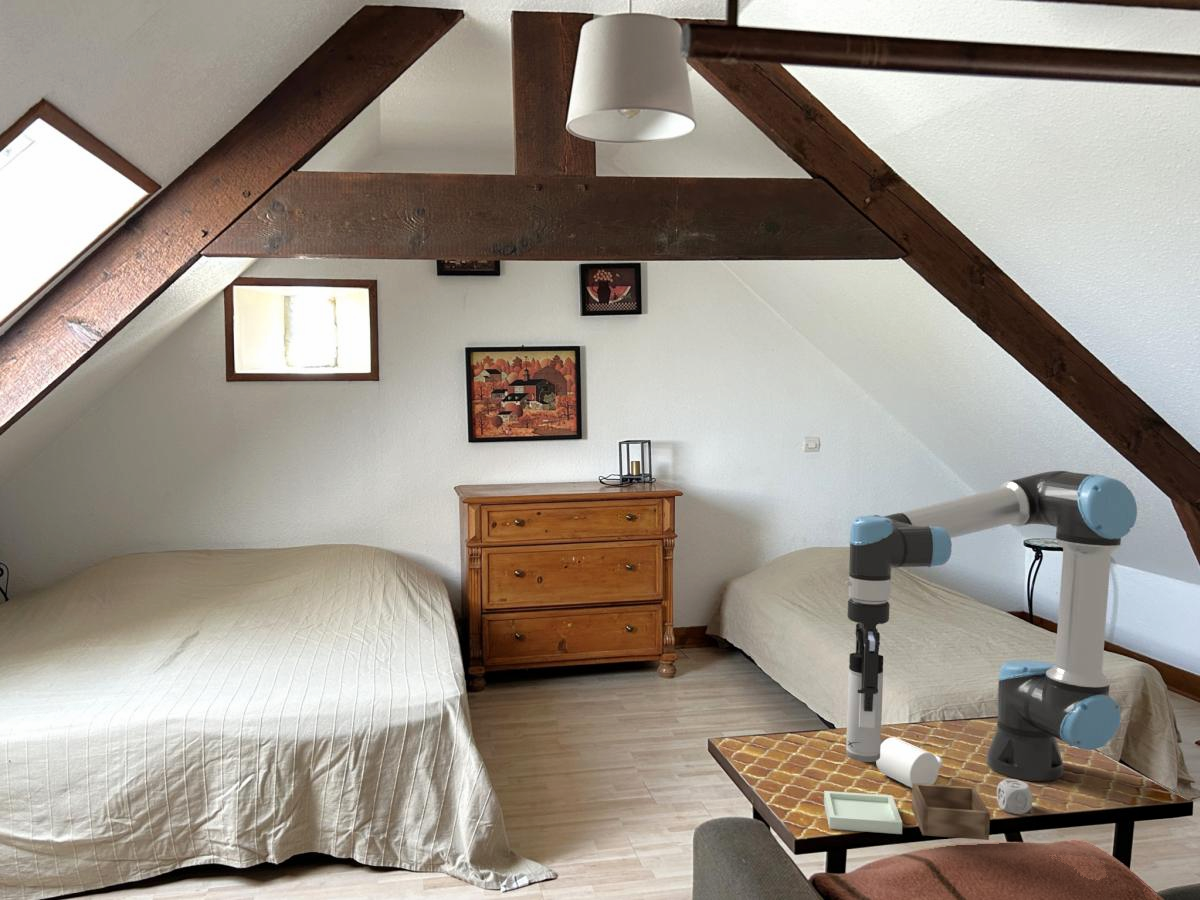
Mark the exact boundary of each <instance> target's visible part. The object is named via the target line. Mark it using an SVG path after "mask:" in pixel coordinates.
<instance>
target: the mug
mask: <svg viewBox="0 0 1200 900" xmlns="http://www.w3.org/2000/svg"><path fill="white" fill-rule="evenodd" d="M875 762H876V763H875V764H876V768H877V770H878V771H879V773H882V774H883V775H885V776H887V777H889V778H891V779H893V780H895V781H897V782H899V783H900V784H903V785H905V786H907V787H909V788H911V789H912V784H913V783H917V784H932V785H935V783H936V781H937V779H938V777H939V773H940V772H939V771H940V768H942V767H943V766H944V761H943V759H942V758H941V757H939V755H937V754H934V753H931V752H929V751H927V750H925V749H923V748H922V747H918V746H916V745H914V744H913V743H912V744H911V743H909V742H907V741H905V740H903V739H900V738H898V737H894V736H893V737H891V736H890V737H888V738H886V739H885V740H884V741H883V743H882V744H881V748H880V758H879V759H878V760H877V761H875Z"/></svg>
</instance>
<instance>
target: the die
mask: <svg viewBox="0 0 1200 900" xmlns="http://www.w3.org/2000/svg"><path fill="white" fill-rule="evenodd" d="M996 799H997V803H998V806H999V808H1000V809H1001V810H1002V811H1004V812H1006V813H1009V814H1013V815H1024V814H1027V813H1028V812H1030V810H1031V809H1032V805H1033V794H1032V791H1031V788H1030V786H1029V785H1028V783H1026V782H1024V781H1022V780H1020V779H1015V778H1014V779H1013V778H1010V779H1008V778H1007V779H1006V778H1005V779H1003V780H1001V781H1000V782H999V783H998V784H997V786H996Z"/></svg>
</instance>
